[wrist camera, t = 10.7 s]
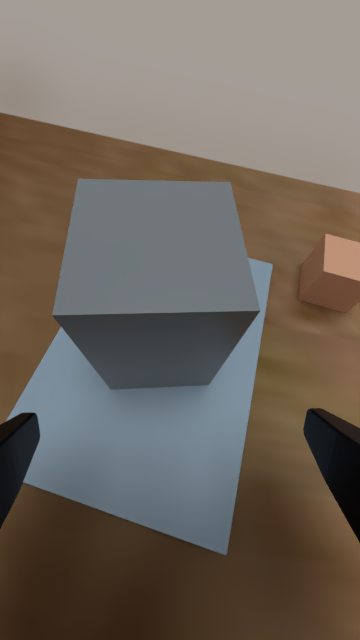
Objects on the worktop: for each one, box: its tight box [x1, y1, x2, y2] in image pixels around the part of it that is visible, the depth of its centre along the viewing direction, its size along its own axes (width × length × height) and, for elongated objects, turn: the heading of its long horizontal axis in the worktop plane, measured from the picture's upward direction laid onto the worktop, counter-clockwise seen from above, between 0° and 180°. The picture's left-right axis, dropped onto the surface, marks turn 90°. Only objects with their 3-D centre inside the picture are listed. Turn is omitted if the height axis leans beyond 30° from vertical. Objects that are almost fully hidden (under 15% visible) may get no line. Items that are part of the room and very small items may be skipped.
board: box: [7, 258, 273, 556], centre depth 19 cm, size 20×14×1 cm
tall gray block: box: [52, 179, 260, 390], centre depth 14 cm, size 6×6×10 cm
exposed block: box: [298, 234, 360, 313], centre depth 21 cm, size 4×4×4 cm
